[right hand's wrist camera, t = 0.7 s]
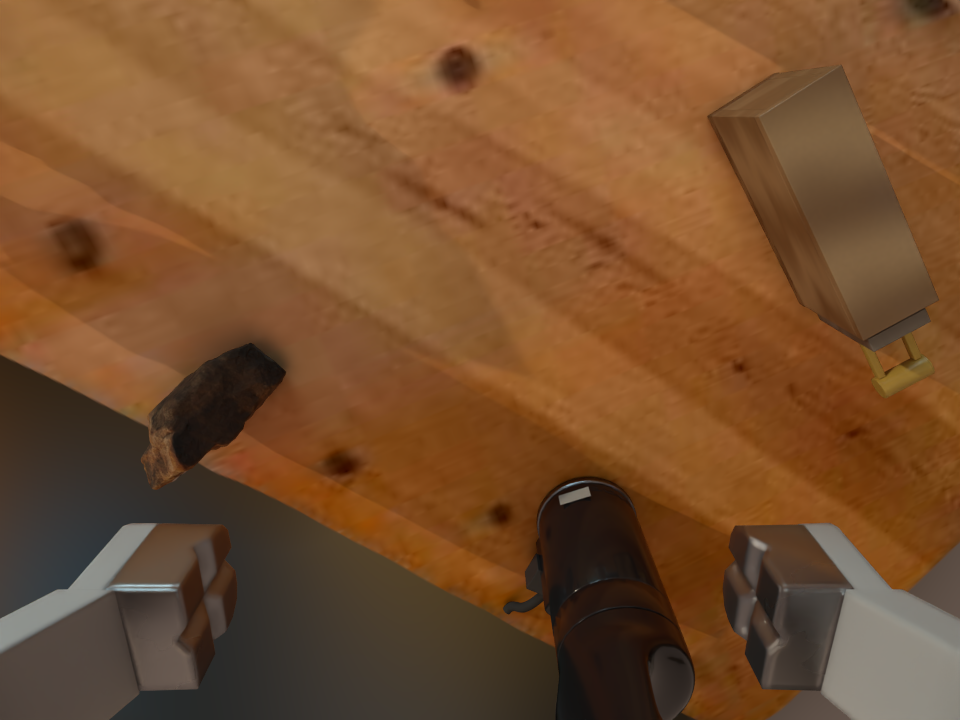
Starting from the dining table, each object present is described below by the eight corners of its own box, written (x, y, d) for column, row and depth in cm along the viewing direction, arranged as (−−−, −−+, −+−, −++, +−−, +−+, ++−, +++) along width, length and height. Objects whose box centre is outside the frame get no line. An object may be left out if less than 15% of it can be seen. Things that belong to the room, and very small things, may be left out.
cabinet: (861, 268, 54) (939, 300, 45) (799, 303, 55) (863, 341, 46) (774, 73, 49) (841, 64, 40) (707, 116, 50) (758, 116, 41)
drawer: (894, 349, 56) (958, 385, 48) (846, 374, 57) (902, 414, 49) (787, 112, 49) (843, 112, 42) (735, 145, 50) (780, 151, 43)
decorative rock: (201, 446, 60) (144, 514, 50) (153, 397, 58) (85, 456, 48) (300, 376, 58) (262, 432, 47) (253, 322, 56) (203, 369, 46)
